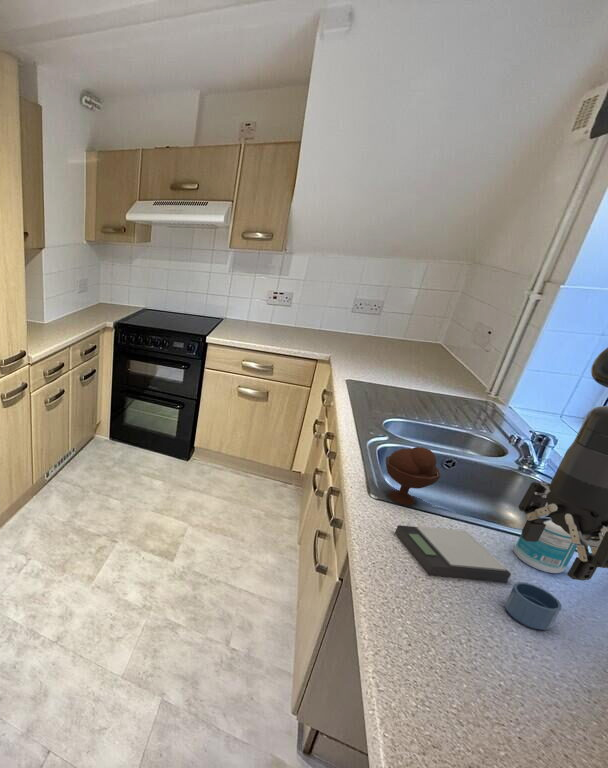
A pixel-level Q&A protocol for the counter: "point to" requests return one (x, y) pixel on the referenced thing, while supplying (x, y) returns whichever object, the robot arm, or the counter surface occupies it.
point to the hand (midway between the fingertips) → (550, 558)
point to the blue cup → (532, 606)
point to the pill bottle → (547, 549)
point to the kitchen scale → (451, 553)
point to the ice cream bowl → (411, 471)
